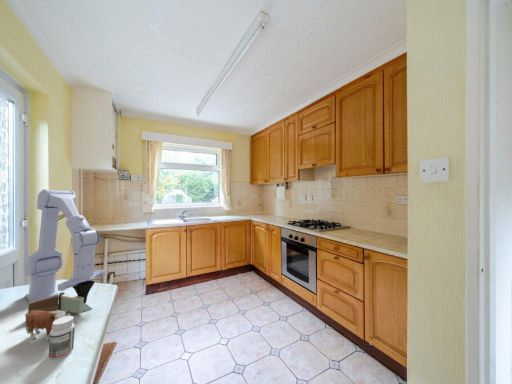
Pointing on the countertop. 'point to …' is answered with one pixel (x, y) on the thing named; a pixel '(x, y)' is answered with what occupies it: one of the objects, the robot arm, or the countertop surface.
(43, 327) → the bull figurine
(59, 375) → the countertop surface
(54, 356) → the pill bottle
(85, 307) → the board
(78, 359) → the countertop surface
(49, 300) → the fence section
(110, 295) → the countertop surface
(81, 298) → the fence gate
